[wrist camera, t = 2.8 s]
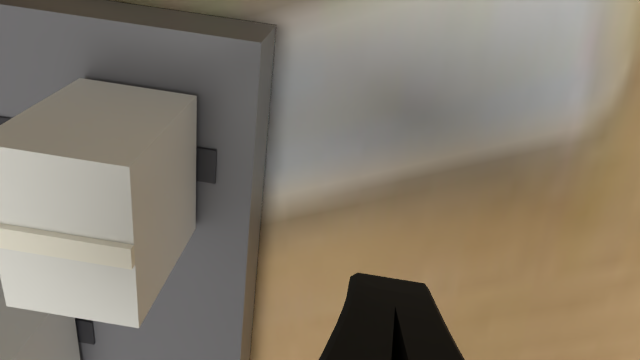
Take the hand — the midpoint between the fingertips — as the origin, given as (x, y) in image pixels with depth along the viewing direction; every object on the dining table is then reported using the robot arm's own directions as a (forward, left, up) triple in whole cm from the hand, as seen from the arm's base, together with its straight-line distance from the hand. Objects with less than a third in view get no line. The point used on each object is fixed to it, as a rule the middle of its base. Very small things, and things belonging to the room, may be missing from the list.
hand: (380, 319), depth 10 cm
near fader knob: (+6, 0, -5) cm, 8 cm away
